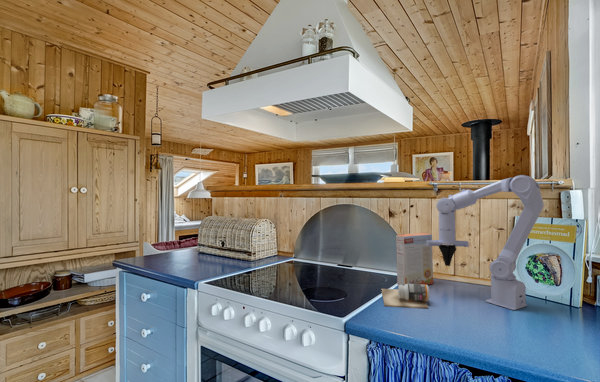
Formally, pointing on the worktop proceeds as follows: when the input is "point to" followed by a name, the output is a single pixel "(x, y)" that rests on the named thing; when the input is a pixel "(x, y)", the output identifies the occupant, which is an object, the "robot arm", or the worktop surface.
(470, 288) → the worktop surface
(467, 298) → the worktop surface
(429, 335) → the worktop surface
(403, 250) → the cracker box
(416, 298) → the pill bottle
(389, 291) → the beige flat rectangular panel
